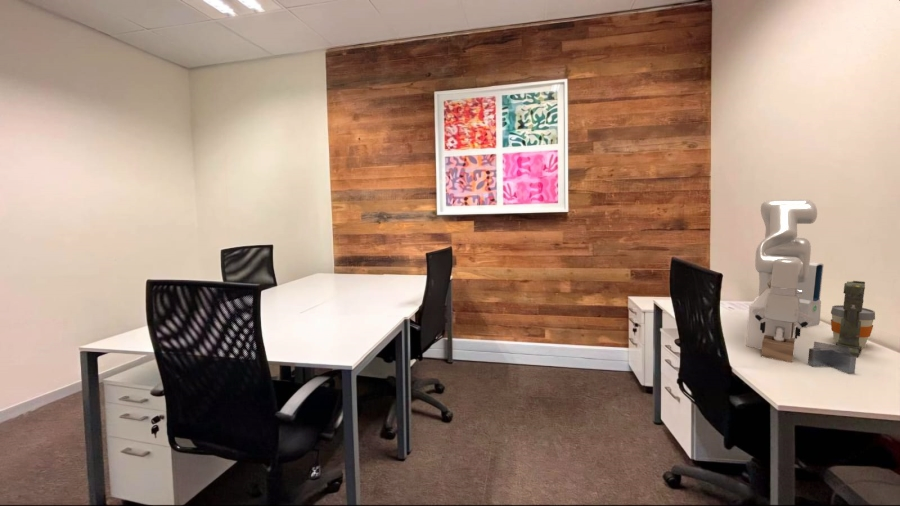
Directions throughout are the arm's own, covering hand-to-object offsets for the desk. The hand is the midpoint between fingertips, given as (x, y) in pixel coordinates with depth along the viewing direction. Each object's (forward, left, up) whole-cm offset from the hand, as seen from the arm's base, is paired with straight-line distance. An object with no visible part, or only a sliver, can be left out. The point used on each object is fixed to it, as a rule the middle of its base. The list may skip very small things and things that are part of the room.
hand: (779, 334), depth 148 cm
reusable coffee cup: (-32, +21, -8) cm, 39 cm away
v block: (0, +14, -8) cm, 17 cm away
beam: (0, 0, -8) cm, 8 cm away
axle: (0, 0, -8) cm, 8 cm away
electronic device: (-56, +7, -8) cm, 57 cm away
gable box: (-14, -3, -9) cm, 17 cm away
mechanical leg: (-20, +20, -8) cm, 29 cm away
